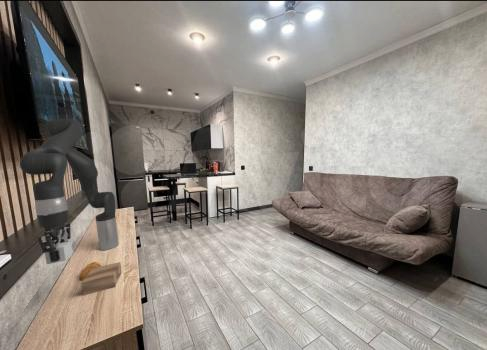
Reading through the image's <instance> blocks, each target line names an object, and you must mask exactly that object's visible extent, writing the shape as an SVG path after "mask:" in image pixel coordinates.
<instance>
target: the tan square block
mask: <svg viewBox="0 0 487 350" xmlns="http://www.w3.org/2000/svg"><path fill="white" fill-rule="evenodd" d="M121 275H122V264H121V261H120V262H119V261H118V262H115V263H110V264H106V265H102V266H101V267H96V268H92V270H91V271H90V272H89V274H88V275H87V276H86V278H85V279H84V280H82V281H81V288H82V295H83V296H88V295H91V294H94V293H98V292H101V291H106V290H109V289H113V288H115V287H116V286H117V284H118V282H119V280H120V277H121Z"/></svg>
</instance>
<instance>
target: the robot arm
mask: <svg viewBox="0 0 487 350" xmlns="http://www.w3.org/2000/svg"><path fill="white" fill-rule="evenodd" d="M45 127H46V130H47V132H48V134H49V137H48V138H47V139H45V140H44V141H43V142H42V144H41V145H40V146H38V147H36V148H33V149H32V150H30V151H28V152H26V153H25V154H24V155H22V156H21V158H20V161H19V166H20V167H19V168H20V169H21V171H22V172H24V173H25V174H28V175H32V176H33V175H34V176H37V175H38V176H39V175H51V177H50V178H49V179H47V180H43V181H42V180H41V181H38V182H36V183H34V184H33V187H32V189H33V194H34V200H35V201H34V202H35V203H34V209H35V215H36V221H37V226H38V227H39V228H41V229H42V228H43V229H44V234H43V236H38V239H37V240H38V242H39V245H40V248H41V250H42V253H43V254H45V253H46V252H49V255H50V261H51V262H56V261H59V260H60V255H59V250H58V246H59V243H63V242H68V241H69V240H71V238H72V237H71V236H72V233H71V232H72V231H71V230H72V229H71V223H68V222H69V221H70V215H69V208H68V202H67V199H66V196H65V195H66V194H65V189H64V188H65V187H64V181H65V180H64V179H65V174H66V171H67V165H69V166H70V169H71V171H72V172H73V174H74V175H75V178H76V179H77V180H78V182H79V184H80V186H81V187H82V189H83V191H84V195H85V196H86V199H87V202H88V203H89V206H91V207H92V208H94V209H104V211H103V212H101V213H99V214H97V215H96V216H95V224H96V225H95V226H96V230H97V237H98V238H97V240H98V247H99V250H100V251H108V250H112V249H113V248H116V247H118V246H119V243H120V242H119V236H118V235H119V234H118V233H119V232H118V228H117V227H118V226H117V220H116V219H117V218H116V212H117V211H116V209H117V208H116V197H115V194H114V192H111V191H103V192H102V191H101V192H99V191H98V190H97V188H96V182H97V179H98V177H99V176H98V175H99V171H98V168H97V166H96V165H95V162H94V161H93V160H92V159H91V158H90V157H88V156H87V155H85V154H84V153H82V152H80V151H79V150H77V149H76V148H74V147H73V145H74V144H75V143H76V142H77V141H78V140H80V139H81V138H82V137H83V134H84V131H83V127H82V125H81V123H80V122H79V121H78V120H77V119H74V118H61V119H49V120H47V121H46V122H45ZM54 244H55V247H54ZM56 263H57V262H56Z"/></svg>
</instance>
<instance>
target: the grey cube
mask: <svg viewBox="0 0 487 350" xmlns="http://www.w3.org/2000/svg"><path fill="white" fill-rule="evenodd" d="M72 244H73V243H72V241H71V240H70V241H69V240H68V242H63V243H59V246H58V250H59V255H60V260H59V261H56V262H51V261H50V255H49V252H46V253H44V257H45V262H46V265H49V264H50V265H51V264H55V263H60V262H65V261H67V260H68V259H69V258H70V257H71V256H72V255H73V253H74V251H73V246H72ZM54 247H55V244H54Z"/></svg>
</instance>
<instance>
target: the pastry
mask: <svg viewBox="0 0 487 350" xmlns="http://www.w3.org/2000/svg"><path fill="white" fill-rule="evenodd" d="M101 266H103V265H102V264H101V263H100V262H97V261H94V262H91V263H88V264H87V265H86V266H85V267H84V268H83V269H82V270H81V272H80V277H79V279H80V280H81V281H83V280H84V279H85V278H86V276H87V275H88V274H89V272H90V271H91V270H92V268H96V267H101Z"/></svg>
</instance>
